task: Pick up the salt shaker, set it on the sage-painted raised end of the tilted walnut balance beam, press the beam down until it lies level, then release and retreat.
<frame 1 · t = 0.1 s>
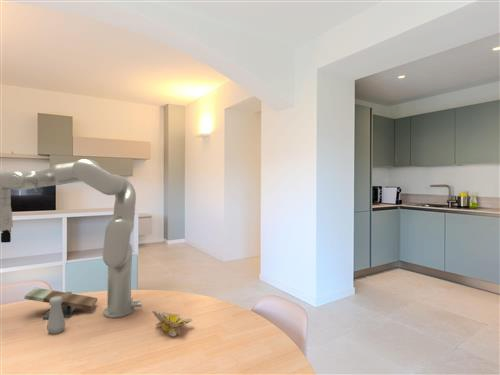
beam stand: (62, 311, 129), on the table
balance beam: (63, 298, 129), point 6 cm above the table, hinge at -15.0°
decorative flower: (172, 330, 115), on the table
salt shaker: (56, 331, 112), on the table
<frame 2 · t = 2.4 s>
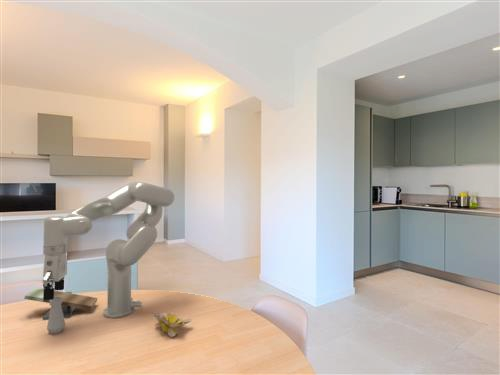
hand: (54, 294, 111), 14 cm above the table, fingers open, 9 cm apart
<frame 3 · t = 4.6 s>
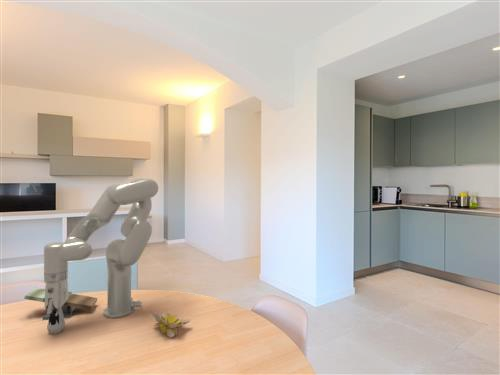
hand: (56, 323, 112), 3 cm above the table, fingers closed on salt shaker, 3 cm apart
salt shaker: (56, 331, 112), on the table, touching gripper
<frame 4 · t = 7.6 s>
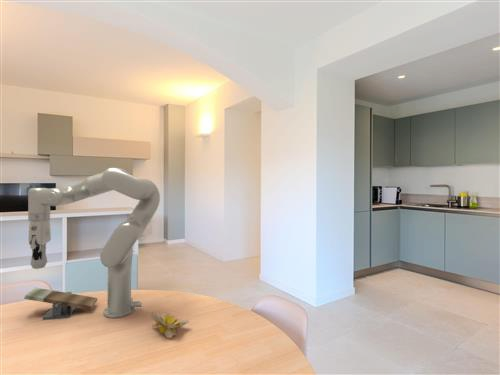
hand: (39, 259, 125), 23 cm above the table, fingers closed on salt shaker, 3 cm apart
salt shaker: (38, 267, 125), point 20 cm above the table, touching gripper
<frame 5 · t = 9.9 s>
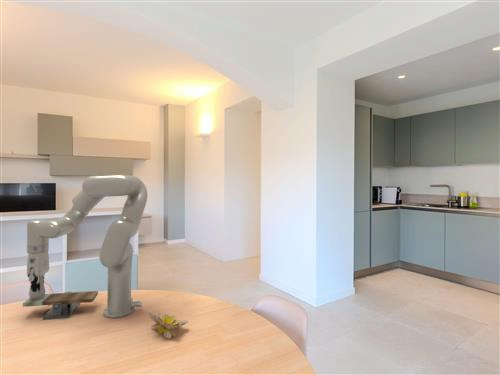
hand: (37, 290, 126), 10 cm above the table, fingers closed on salt shaker, 3 cm apart
balance beam: (62, 298, 129), point 6 cm above the table, hinge at -0.6°, touching salt shaker
salt shaker: (37, 298, 126), point 6 cm above the table, touching balance beam, gripper
when the fingers open (10 cm above the table, at t = 10.6 s): salt shaker stays where it is, resting on balance beam.
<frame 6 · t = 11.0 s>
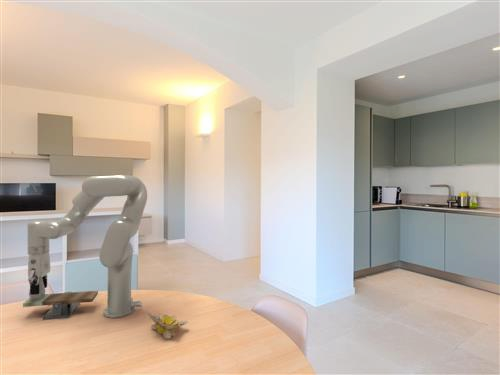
hand: (38, 290, 126), 10 cm above the table, fingers open, 6 cm apart
balance beam: (62, 298, 129), point 6 cm above the table, hinge at -0.2°, touching salt shaker
salt shaker: (37, 298, 126), point 6 cm above the table, touching balance beam
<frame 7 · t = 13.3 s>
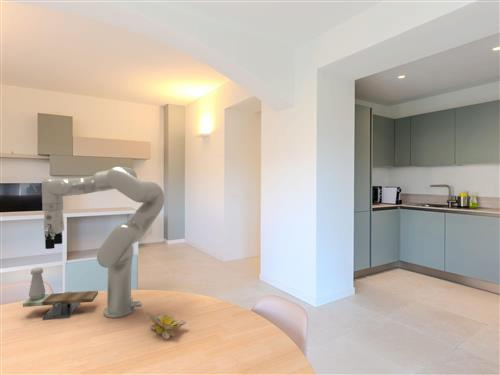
hand: (54, 246, 130), 28 cm above the table, fingers open, 9 cm apart
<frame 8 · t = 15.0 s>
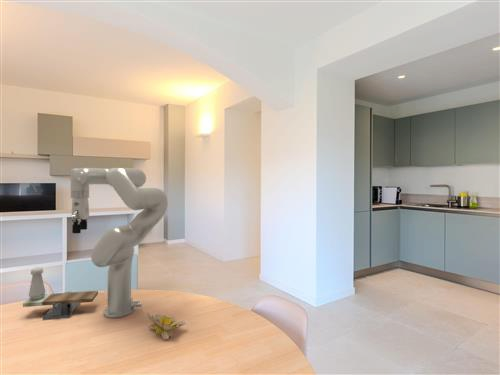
hand: (80, 231, 139), 33 cm above the table, fingers open, 9 cm apart
at the end: balance beam at +0° (first picture: -15°); salt shaker inside the target area on the balance beam (0.7 cm from its centre), point 1.3 cm above the balance beam's base; salt shaker tilted 0° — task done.
